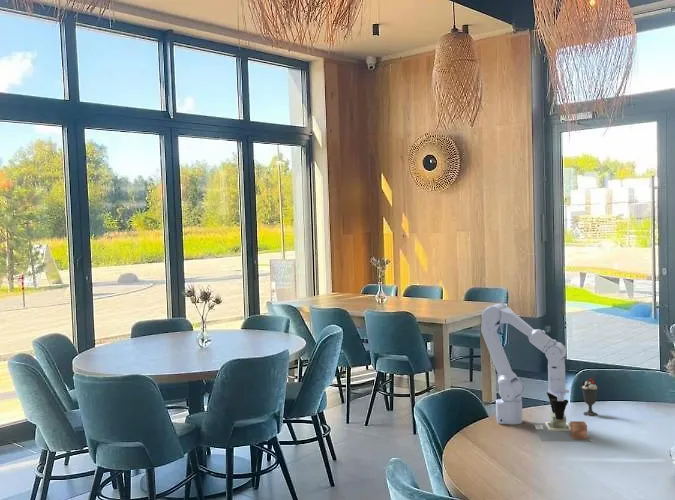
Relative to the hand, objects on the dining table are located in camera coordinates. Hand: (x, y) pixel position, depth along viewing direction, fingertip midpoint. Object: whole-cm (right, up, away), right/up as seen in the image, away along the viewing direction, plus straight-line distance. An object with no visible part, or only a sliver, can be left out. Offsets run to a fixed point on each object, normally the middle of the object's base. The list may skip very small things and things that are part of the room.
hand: (557, 415), depth 231 cm
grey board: (0, -5, -5) cm, 7 cm away
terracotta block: (+4, -4, -11) cm, 12 cm away
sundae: (+18, -4, +17) cm, 25 cm away
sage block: (0, -4, 0) cm, 4 cm away
